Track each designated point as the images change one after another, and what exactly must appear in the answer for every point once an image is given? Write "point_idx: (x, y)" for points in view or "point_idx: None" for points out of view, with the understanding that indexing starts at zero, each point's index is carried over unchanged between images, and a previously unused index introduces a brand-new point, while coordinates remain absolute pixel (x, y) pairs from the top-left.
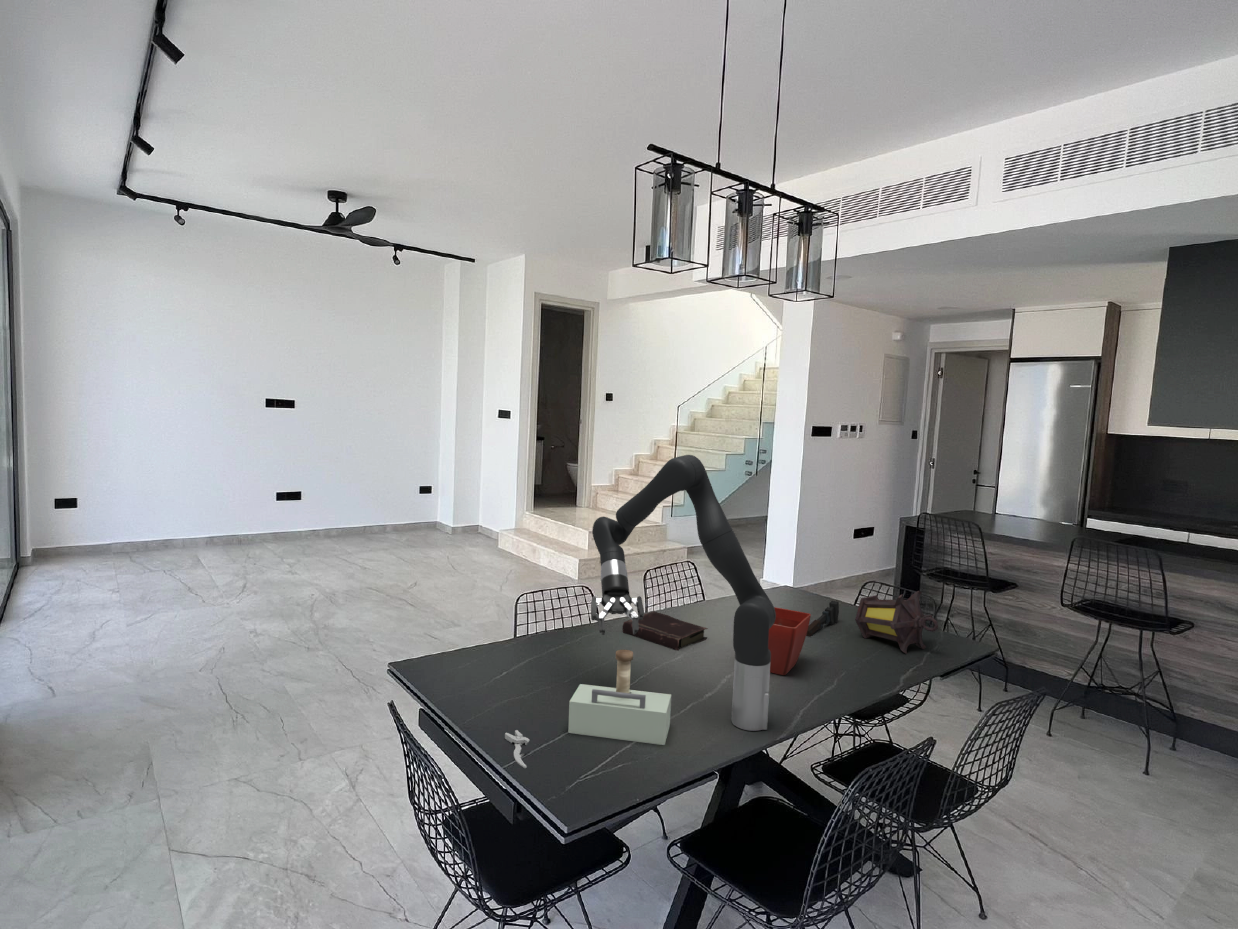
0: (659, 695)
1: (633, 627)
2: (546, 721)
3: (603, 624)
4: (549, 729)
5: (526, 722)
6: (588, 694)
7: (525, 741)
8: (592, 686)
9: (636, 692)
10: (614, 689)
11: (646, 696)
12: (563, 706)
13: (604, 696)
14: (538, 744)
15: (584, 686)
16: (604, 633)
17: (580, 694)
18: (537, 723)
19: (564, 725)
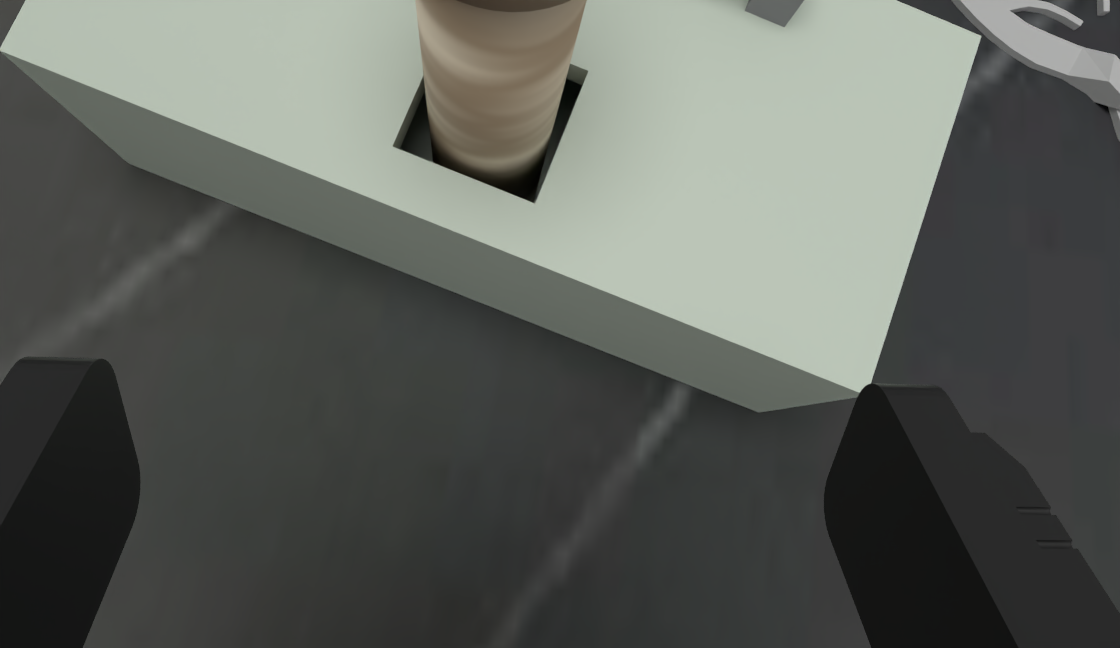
0: (130, 43)
1: (66, 515)
2: (981, 373)
3: (979, 510)
4: (962, 256)
5: (1109, 373)
6: (809, 151)
7: (1118, 67)
8: (754, 324)
9: (345, 137)
10: (549, 233)
11: (269, 38)
12: None
13: (669, 92)
14: (1027, 75)
15: (830, 331)
16: (846, 441)
17: (880, 159)
18: (1039, 350)
19: None
